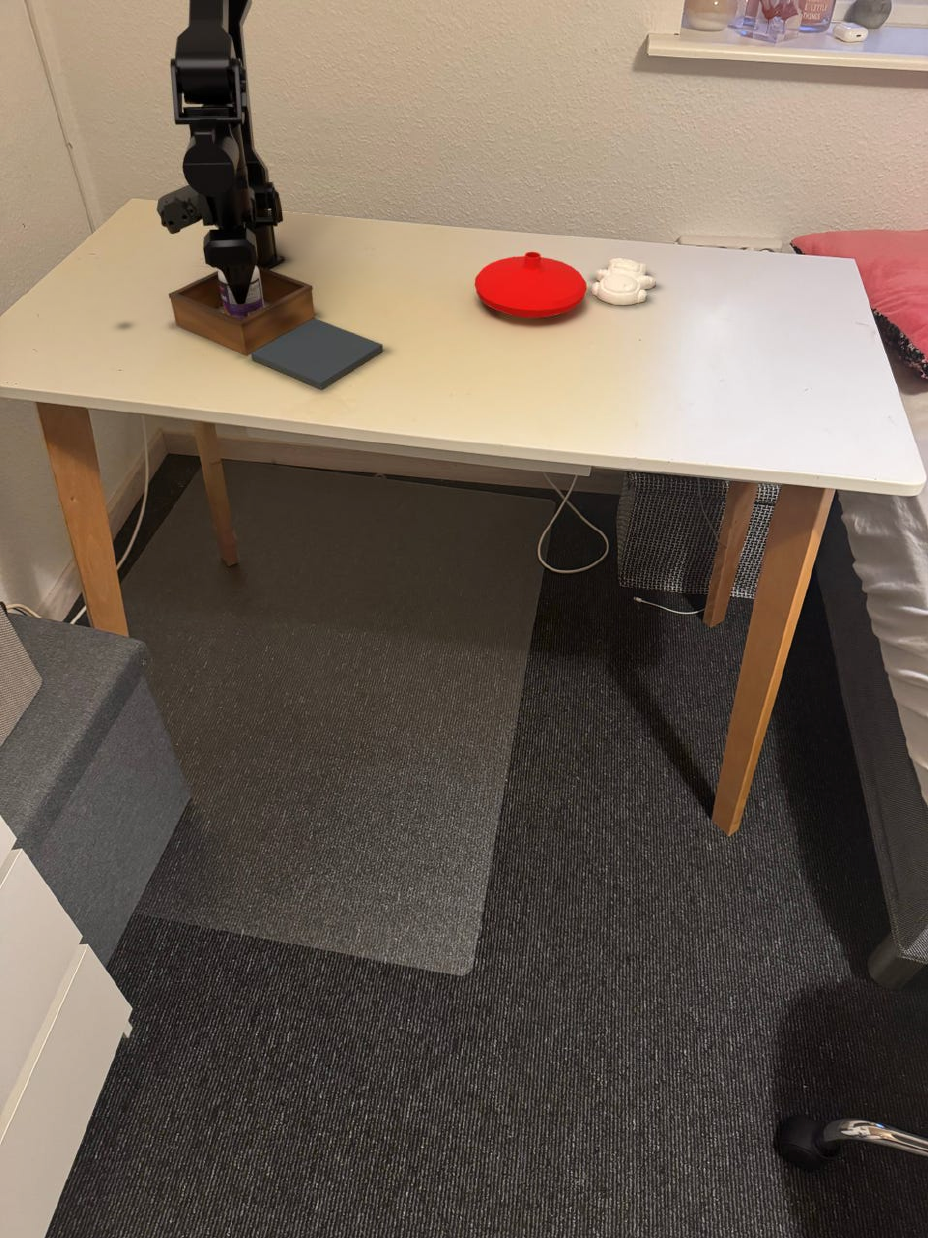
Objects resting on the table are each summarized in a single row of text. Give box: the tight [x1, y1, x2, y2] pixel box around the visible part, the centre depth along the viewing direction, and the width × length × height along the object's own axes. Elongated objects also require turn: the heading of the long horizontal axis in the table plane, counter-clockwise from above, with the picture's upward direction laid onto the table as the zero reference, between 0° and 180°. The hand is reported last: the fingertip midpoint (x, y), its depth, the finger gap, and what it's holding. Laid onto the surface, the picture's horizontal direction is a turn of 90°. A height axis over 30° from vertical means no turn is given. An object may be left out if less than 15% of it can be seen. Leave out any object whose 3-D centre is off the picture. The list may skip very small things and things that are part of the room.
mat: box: [250, 317, 384, 391], centre depth 122 cm, size 12×12×1 cm
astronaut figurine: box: [591, 257, 657, 306], centre depth 137 cm, size 9×12×3 cm
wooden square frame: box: [168, 265, 316, 356], centre depth 127 cm, size 13×13×4 cm
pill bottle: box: [217, 266, 265, 320], centre depth 125 cm, size 5×5×10 cm
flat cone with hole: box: [474, 251, 588, 319], centre depth 131 cm, size 16×16×7 cm
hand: (240, 287), depth 125 cm, fingers open, 9 cm apart
